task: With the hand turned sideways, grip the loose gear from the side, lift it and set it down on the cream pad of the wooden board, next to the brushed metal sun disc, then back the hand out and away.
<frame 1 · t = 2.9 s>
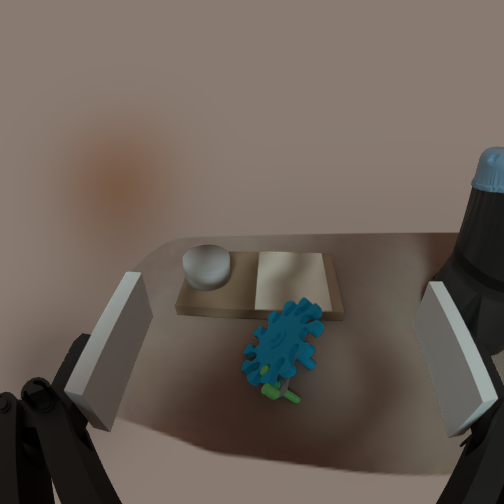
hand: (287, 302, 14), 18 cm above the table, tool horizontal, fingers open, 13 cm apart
gear: (277, 369, 32), on the table
wooden board: (261, 287, 43), on the table
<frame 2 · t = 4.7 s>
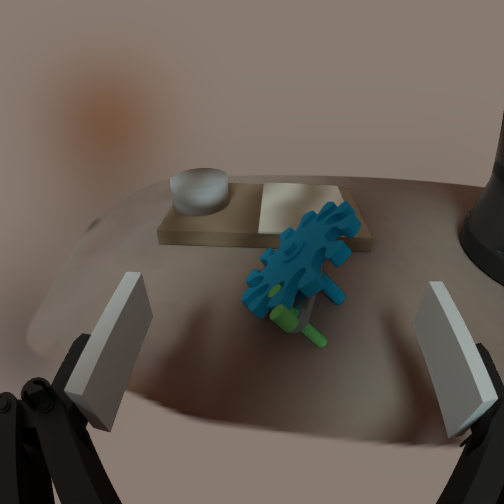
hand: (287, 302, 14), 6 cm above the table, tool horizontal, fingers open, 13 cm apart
gear: (292, 304, 24), on the table
wooden board: (266, 217, 35), on the table
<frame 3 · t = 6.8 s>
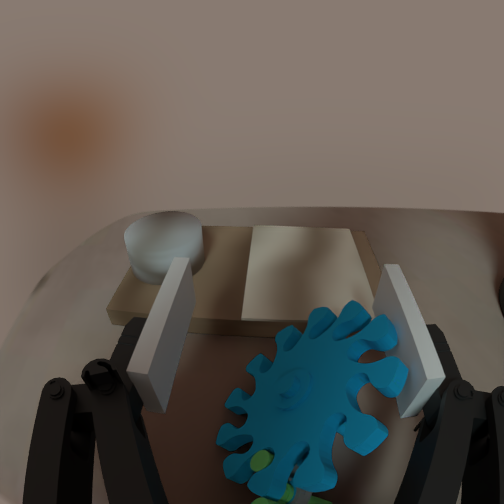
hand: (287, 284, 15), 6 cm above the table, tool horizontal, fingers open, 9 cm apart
gear: (290, 439, 15), on the table, touching gripper
wooden board: (255, 280, 26), on the table
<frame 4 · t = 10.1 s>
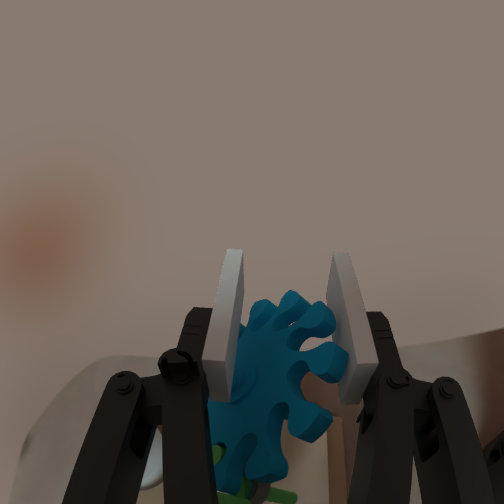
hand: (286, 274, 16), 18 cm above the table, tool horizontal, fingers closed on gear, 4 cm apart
gear: (247, 434, 15), point 11 cm above the table, touching gripper
wooden board: (221, 478, 22), on the table
when the fingers open (9 cm above the table, at t = 12.7 s): gear drops 1 cm, resting on wooden board.
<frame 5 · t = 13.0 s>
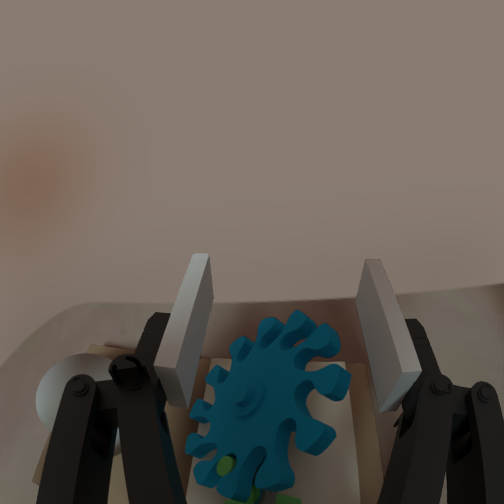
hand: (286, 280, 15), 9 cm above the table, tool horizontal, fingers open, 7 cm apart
gear: (254, 443, 16), point 1 cm above the table, touching wooden board
wooden board: (208, 447, 17), on the table
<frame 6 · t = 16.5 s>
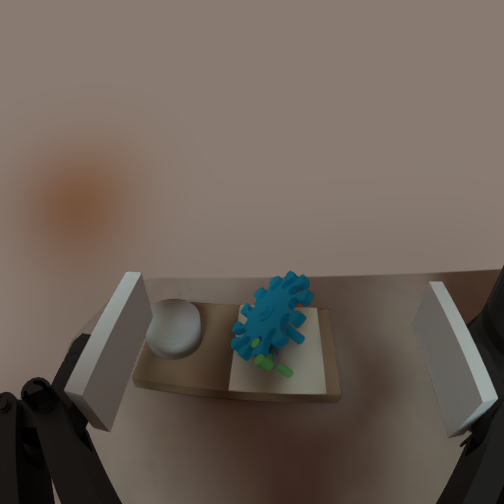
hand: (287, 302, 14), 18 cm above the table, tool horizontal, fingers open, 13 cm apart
gear: (267, 345, 33), point 1 cm above the table, touching wooden board
wooden board: (239, 352, 34), on the table
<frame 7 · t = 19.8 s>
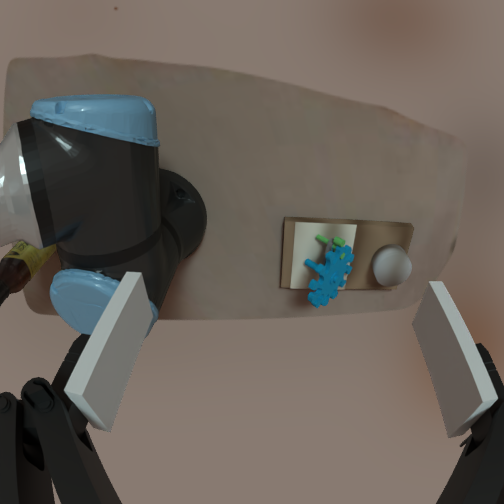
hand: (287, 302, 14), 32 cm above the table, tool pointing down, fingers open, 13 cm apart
gear: (329, 257, 49), point 1 cm above the table, touching wooden board
wooden board: (345, 253, 50), on the table
sauce bottle: (49, 234, 52), on the table
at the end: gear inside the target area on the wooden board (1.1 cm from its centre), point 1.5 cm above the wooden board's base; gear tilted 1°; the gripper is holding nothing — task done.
